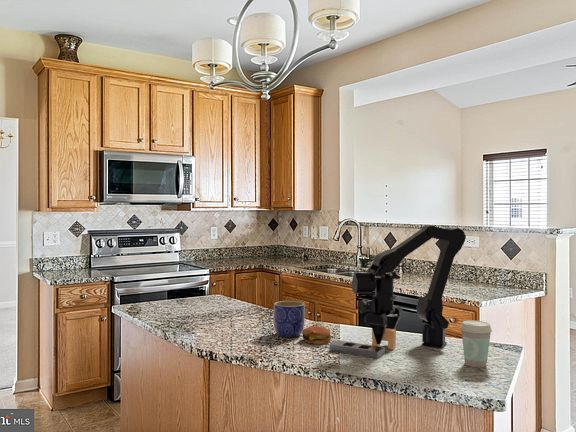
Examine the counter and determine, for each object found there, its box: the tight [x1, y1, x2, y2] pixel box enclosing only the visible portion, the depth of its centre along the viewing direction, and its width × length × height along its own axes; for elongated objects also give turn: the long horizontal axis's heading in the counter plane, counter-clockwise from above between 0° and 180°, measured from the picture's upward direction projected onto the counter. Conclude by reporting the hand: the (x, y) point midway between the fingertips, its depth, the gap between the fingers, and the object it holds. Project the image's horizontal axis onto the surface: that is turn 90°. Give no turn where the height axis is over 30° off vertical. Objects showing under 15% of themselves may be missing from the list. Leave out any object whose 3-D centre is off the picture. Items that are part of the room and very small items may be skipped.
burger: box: [301, 325, 332, 346], centre depth 173 cm, size 10×9×5 cm
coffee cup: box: [459, 319, 493, 368], centre depth 147 cm, size 9×9×12 cm
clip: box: [371, 328, 397, 351], centre depth 165 cm, size 7×2×6 cm, turn 59°
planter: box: [273, 300, 306, 338], centre depth 180 cm, size 11×11×11 cm
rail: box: [329, 339, 386, 359], centre depth 159 cm, size 16×6×2 cm, turn 58°
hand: (383, 340), depth 165 cm, fingers open, 9 cm apart
